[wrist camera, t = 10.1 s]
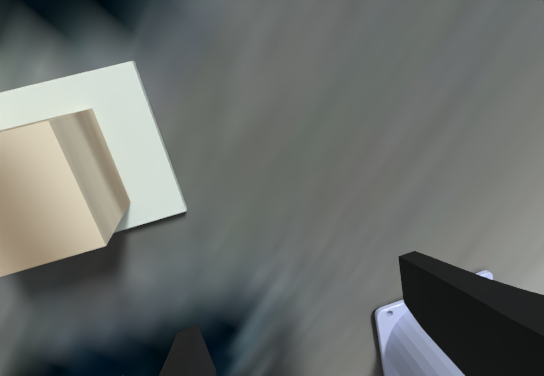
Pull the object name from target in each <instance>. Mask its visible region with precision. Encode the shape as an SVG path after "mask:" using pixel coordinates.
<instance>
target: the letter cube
mask: <svg viewBox="0 0 544 376" xmlns="http://www.w3.org/2000/svg"><path fill="white" fill-rule="evenodd" d="M129 203H130V199H129V197H128V195H127V192H126V190H125V187H124V185H123V182H122V180H121V177H120V175H119V173H118V170H117V168H116V165H115V163H114V160H113V158H112V155H111V153H110V151H109V148H108V146H107V143H106V141H105V138H104V136H103V133H102V131H101V128H100V126H99V124H98V121H97V119H96V116H95V114H94V111H93V109H92V108H90V109H86V110H82V111H78V112H74V113H70V114H66V115H61V116H57V117H53V118H49V119H45V120H41V121H36V122H32V123H28V124H24V125H20V126H16V127H12V128H7V129H3V130H0V277H1V276H5V275H8V274H12V273H15V272H18V271H22V270H25V269H29V268H32V267H36V266H39V265H43V264H46V263H49V262H53V261H56V260H60V259H63V258H67V257H70V256H74V255H77V254H80V253H84V252H87V251H91V250H94V249H98V248H101V247H105V246H106V245H107V244H108V242H109V240H110V238H111V236H112V234H113V233H114V231H115V229H116V227H117V225H118V224H119V222H120V220H121V218H122V216H123V214H124V213H125V211H126V209H127V207H128V205H129Z"/></svg>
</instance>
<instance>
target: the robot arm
mask: <svg viewBox="0 0 544 376" xmlns="http://www.w3.org/2000/svg"><path fill="white" fill-rule="evenodd" d="M399 265H400V273H401V282H402V291H403V300H400V301H397V302H394V303H391V304H389V305H386V306H383V307H380V308H378V309H377V310H376V311H375V321H376V328H377V334H378V340H379V347H380V353H381V360H382V366H383V373H384V376H544V295H541V294H538V293H534V292H530V291H526V290H523V289H520V288H516V287H513V286H510V285H507V284H504V283H501V282H497V281H494V280H493V276H492V274H491V273H490V272H489V271H486V270H485V271H481V272H478V273H476V274H474V273H472V272H469V271H466V270H463V269H461V268H458V267H456V266H453V265H450V264H448V263H445V262H443V261H440V260H437V259H435V258H432V257H430V256H427V255H424V254H421V253H419V252H416V251H413V252H410V253H407V254H404V255H401V256H399ZM388 311H389V312H388ZM387 312H388V313H387ZM159 376H216V369H215V367H214V364H213V362H212V359H211V357H210V355H209V352H208V350H207V347H206V345H205V342H204V340H203V337H202V335H201V332H200V330H199V327H198V325H195V326H192V327H189V328H186V329H183V330H180V331H179V332H178V334H177V335H176V338H175V340H174V343H173V345H172V347H171V350H170V352H169V354H168V357H167V359H166V361H165V363H164V366H163V368H162V370H161V372H160V374H159Z"/></svg>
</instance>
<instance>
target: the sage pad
mask: <svg viewBox="0 0 544 376" xmlns="http://www.w3.org/2000/svg"><path fill="white" fill-rule="evenodd" d="M90 108H92V109H93V111H94V114H95V116H96V119H97V121H98V124H99V126H100V128H101V131H102V133H103V136H104V138H105V141H106V143H107V146H108V148H109V151H110V153H111V155H112V158H113V160H114V163H115V165H116V168H117V170H118V173H119V175H120V177H121V180H122V182H123V185H124V187H125V190H126V192H127V195H128V197H129V199H130V203H129V205H128V207H127V209H126V211H125V213H124V214H123V216H122V218H121V220H120V222H119V224H118V225H117V227H116V229H115V231H114V233H115V232H118V231H121V230H125V229H128V228H131V227H135V226H138V225H142V224H145V223H148V222H152V221H155V220H158V219H162V218H165V217H168V216H172V215H175V214H179V213H182V212H185V211H187V206H186V203H185V201H184V198H183V195H182V192H181V190H180V187H179V184H178V181H177V178H176V176H175V173H174V170H173V167H172V164H171V162H170V159H169V156H168V153H167V151H166V148H165V145H164V142H163V139H162V137H161V134H160V131H159V128H158V125H157V123H156V120H155V117H154V114H153V111H152V109H151V106H150V103H149V100H148V98H147V95H146V92H145V89H144V86H143V84H142V81H141V78H140V75H139V72H138V70H137V67H136V64H135V61H130V62H126V63H122V64H117V65H113V66H109V67H105V68H101V69H97V70H92V71H88V72H84V73H80V74H76V75H72V76H68V77H63V78H59V79H55V80H51V81H47V82H43V83H38V84H34V85H30V86H26V87H22V88H18V89H13V90H9V91H5V92H1V93H0V130H3V129H7V128H12V127H16V126H20V125H24V124H28V123H32V122H36V121H41V120H45V119H49V118H53V117H57V116H61V115H66V114H70V113H74V112H78V111H82V110H86V109H90Z"/></svg>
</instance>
